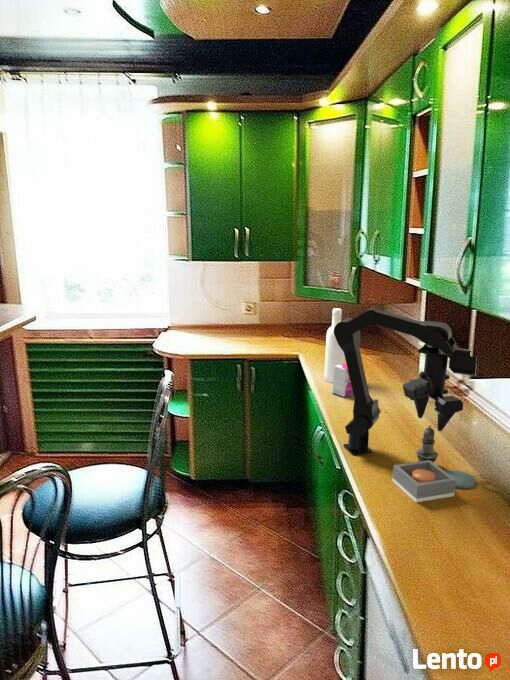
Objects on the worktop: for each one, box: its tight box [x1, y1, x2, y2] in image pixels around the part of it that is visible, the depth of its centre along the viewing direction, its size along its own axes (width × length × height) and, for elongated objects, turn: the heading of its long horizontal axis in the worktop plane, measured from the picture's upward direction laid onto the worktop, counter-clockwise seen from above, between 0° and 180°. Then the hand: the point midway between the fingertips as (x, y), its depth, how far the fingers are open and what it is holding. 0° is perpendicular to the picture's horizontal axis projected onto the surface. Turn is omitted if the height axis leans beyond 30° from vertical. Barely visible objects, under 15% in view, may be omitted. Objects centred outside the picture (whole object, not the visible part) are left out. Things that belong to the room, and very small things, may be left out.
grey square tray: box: [391, 460, 456, 503], centre depth 138 cm, size 11×11×4 cm
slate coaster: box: [444, 469, 476, 490], centre depth 142 cm, size 8×8×1 cm
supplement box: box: [331, 362, 353, 399], centre depth 205 cm, size 6×6×12 cm
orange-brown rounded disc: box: [412, 469, 435, 483], centre depth 137 cm, size 6×6×1 cm
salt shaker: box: [415, 425, 439, 463], centre depth 149 cm, size 6×6×12 cm
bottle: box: [323, 307, 345, 384], centre depth 220 cm, size 8×8×30 cm
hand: (429, 424), depth 148 cm, fingers open, 9 cm apart
